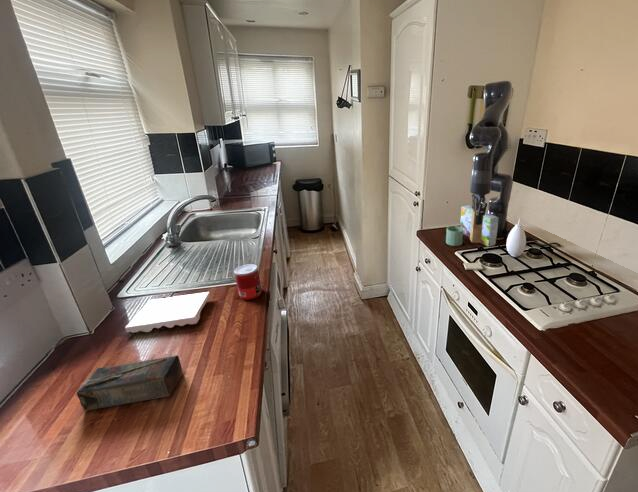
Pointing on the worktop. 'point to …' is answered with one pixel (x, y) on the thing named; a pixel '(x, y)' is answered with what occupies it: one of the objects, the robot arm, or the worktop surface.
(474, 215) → the peg
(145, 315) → the food packaging
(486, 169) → the robot arm
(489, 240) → the snack box
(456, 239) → the pot
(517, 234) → the white teardrop shape
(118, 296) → the worktop surface
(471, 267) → the board
